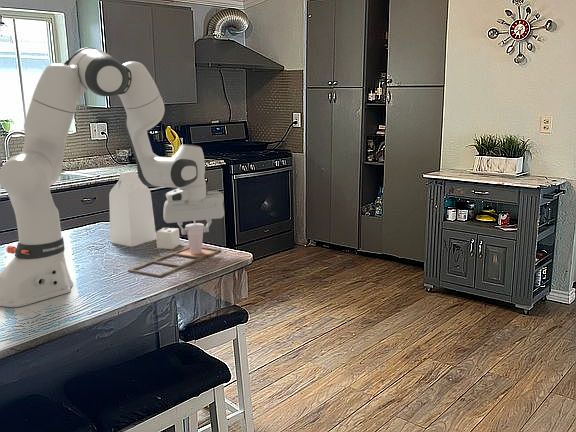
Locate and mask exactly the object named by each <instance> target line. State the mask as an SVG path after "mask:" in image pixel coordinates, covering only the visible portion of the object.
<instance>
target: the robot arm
mask: <svg viewBox="0 0 576 432" xmlns="http://www.w3.org/2000/svg"><path fill="white" fill-rule="evenodd" d="M87 91H90V92H91V93H93V94H95V95H97V96H100V97H113V96H117V95H118V97H119V98H120V101H121V104H122V106H123V108H124V110H125V113H126V114H125V115H126V118H125V122H124V123H125V124H124V125H125V131H126V134H127V137H128V140H129V143H130V147H131V151H132V153H133V156H134V160H135V163H136V169H137V171H136V172H137V175H138V177H139V178H140V180H141V182H142V183H143V184H144V185H146V186H147V187H148V188H152V187H153V188H155V187H156V188H158V187H163V188H174V189H172V190H170V191H168V192H166V193H165V197H166V200H165V202H164V204H163V213H162V215H163V216H162V217H163V221H164V222H165V223H166V224H173V223H177V225H178V227H179V229H180V231H181V235H182V236H184V235H187V230H186V229H185V228H183V225H184V224H183V223H185V222H186V223H187V222H194V221H195V222H196V221H204V220H205V221H206V222H207V223H206V225H204V228H203V234H204V233H209V232H210V229H209V228H210V226H211V225H212V223H213V221H212V220H217V219H223V218H224V216H225V209H224V199H225V198H224V194H223V192H220V191H218V190H216V191H207V184H206V183H207V182H206V180H205V173H206V164H205V155H204V152H203V148H202V147H201V146H199V145H197V144H196V145H195V144H181V145H178V150H177V151H176V152H175V153H174V154H173V155H171V156H159V155H157V154H156V153H154V151H153V149H152V145H151V142H150V138H149V135H148V131H149V130H151V129H153V128H154V127H156V126H157V125H158V124H159V123H160V122H161V120H163V118H164V115H165V111H166V109H165V103H164V100H163V97H162V96H161V93H160V91H159V88H158V87H157V84H156V82H155V81H154V78H153V77H152V75H151V74H150V72H149V71H148V68H146V66H145V65H144V64H143V63H141V62H138V61H133V60H132V61H126V62H124V63H122V62H120V61H119V60H118V59H116V58H114V57H112V56H111V55H110V54H108V53H107V52H105V51H103V50H100V49H97V48H95V47H84V48H83V47H82V48H80V49H79V50H77V51H75V53H74V54H73V55H72V56H71V57H69V59H67V60H66V61H65V62H64V63H51V64H48V65H47V66H46V67H45V69H44V70H43V72H42V73H41V75H40V77H39V80H38V82H37V84H36V85H35V88H34V92H33V93H32V97H31V100H30V104H29V106H28V110H27V113H26V117H25V120H24V123H23V129H24V140H23V141H24V142H23V147H22V151H21V153H20V154H16V155H13V156H11V157H10V158H9V159H7V161H6V162H4V164H3V165H2V166H1V168H0V186H1V187H2V188H3V189H4V191H6V193H7V195H8V198H9V200H10V203H11V206H12V208H13V213H14V216H15V221H16V227H17V235H18V242H17V245H16V246H12V245H8V246H7V247H6V248H5V250H6V253H8V254H14V258H13V259H12V260H11V261H10V262H9V263H8V264H7V266H6V267H4V269H3V270H2V271H1V272H0V307H6V308H7V307H8V308H20V307H24V306H27V305H31V304H33V303H39V302H40V301H45V300H47V299H52V298H54V297H57V296H61V295H64V294H67V293H70V292H71V288H72V287H73V284H74V283H73V281H72V278H71V276H70V272H69V269H68V266H67V263H66V257H65V242H64V237H63V236H62V228H61V220H60V212H59V209H58V208H57V206H56V204H55V202H54V198H53V196H52V193H51V186H52V185H54V184H56V183H57V181H58V180H59V178H60V176H61V174H62V172H63V161H64V156H65V155H64V154H65V151H66V150H65V148H66V142H67V138H68V135H69V131H70V127H71V125H72V122H73V119H74V116H75V113H76V109H77V106H78V102H79V101H80V98H81V97H82V95H84V94H85V92H87Z"/></svg>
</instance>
